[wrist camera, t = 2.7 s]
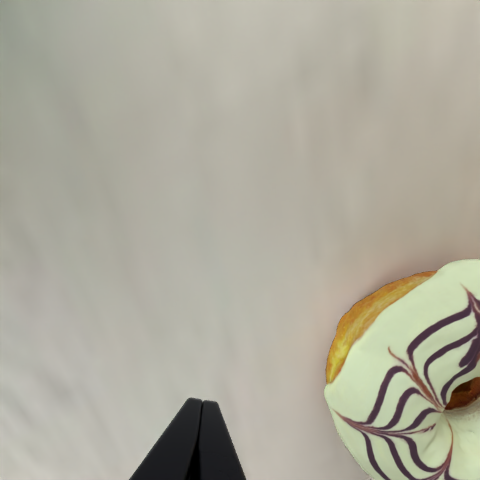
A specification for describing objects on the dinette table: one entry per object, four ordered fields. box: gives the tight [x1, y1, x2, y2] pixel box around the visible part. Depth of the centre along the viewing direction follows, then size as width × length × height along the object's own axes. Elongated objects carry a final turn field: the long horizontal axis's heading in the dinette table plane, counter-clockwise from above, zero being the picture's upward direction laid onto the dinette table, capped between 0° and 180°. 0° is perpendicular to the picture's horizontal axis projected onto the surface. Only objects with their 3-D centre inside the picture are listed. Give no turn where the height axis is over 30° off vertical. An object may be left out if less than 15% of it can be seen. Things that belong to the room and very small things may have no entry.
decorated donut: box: [324, 259, 480, 480], centre depth 12 cm, size 10×11×4 cm
